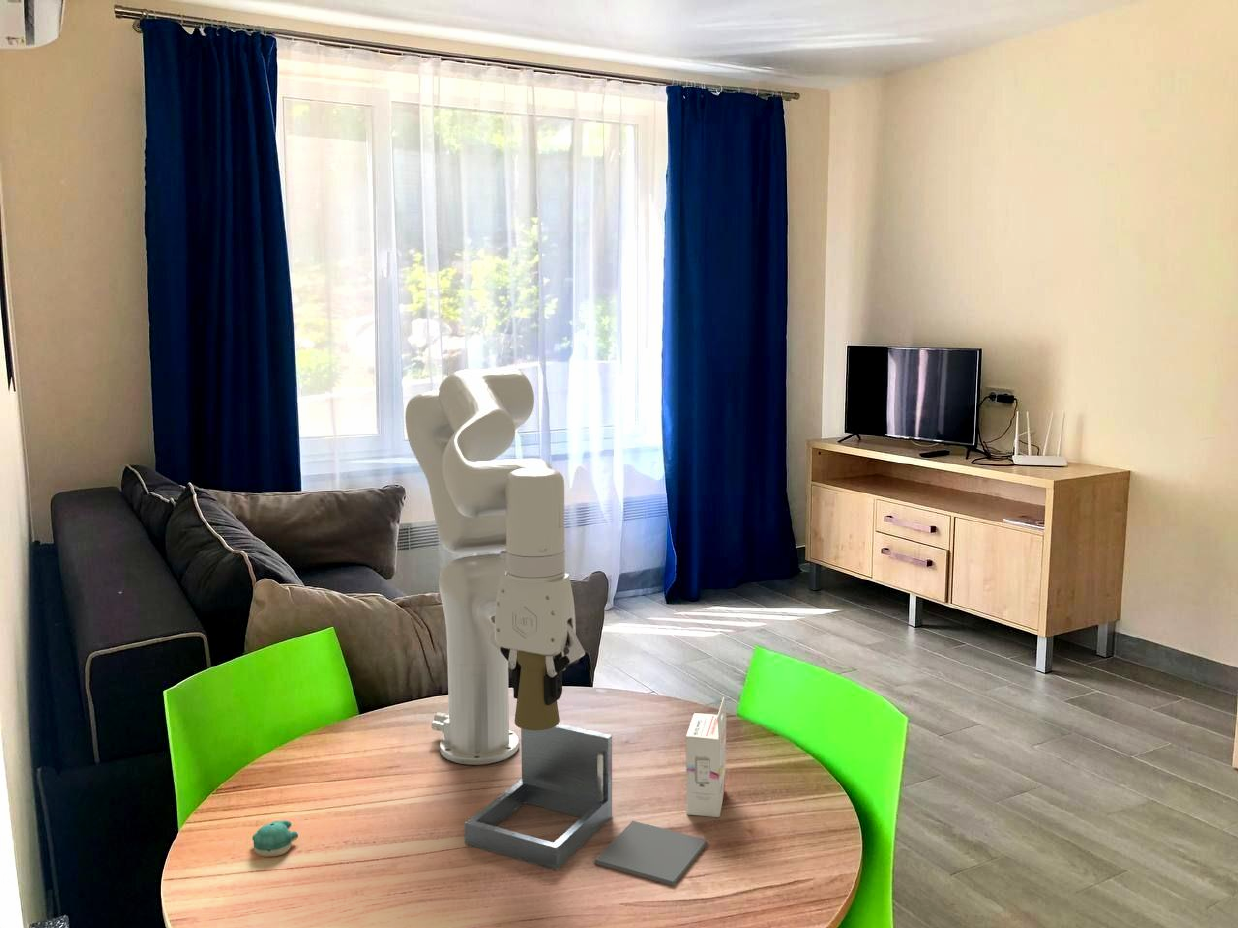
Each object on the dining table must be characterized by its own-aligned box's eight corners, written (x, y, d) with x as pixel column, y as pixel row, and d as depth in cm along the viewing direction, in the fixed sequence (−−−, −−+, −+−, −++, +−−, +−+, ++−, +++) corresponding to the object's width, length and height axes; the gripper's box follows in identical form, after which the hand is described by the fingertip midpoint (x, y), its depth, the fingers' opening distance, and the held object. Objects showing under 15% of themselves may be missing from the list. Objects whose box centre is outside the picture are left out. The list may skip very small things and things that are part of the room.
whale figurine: (245, 861, 129) (243, 834, 128) (260, 832, 136) (259, 805, 135) (292, 859, 129) (290, 832, 129) (304, 830, 136) (303, 804, 136)
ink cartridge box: (692, 786, 148) (693, 691, 146) (725, 789, 147) (727, 694, 145) (684, 815, 140) (685, 714, 138) (719, 818, 139) (721, 717, 137)
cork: (566, 715, 135) (566, 636, 133) (549, 733, 129) (548, 651, 128) (525, 709, 137) (524, 631, 135) (506, 726, 131) (505, 646, 130)
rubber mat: (594, 863, 128) (594, 859, 128) (632, 824, 137) (632, 820, 137) (673, 885, 123) (673, 881, 123) (707, 843, 133) (707, 839, 132)
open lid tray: (465, 843, 132) (463, 757, 131) (526, 794, 146) (525, 716, 144) (556, 870, 126) (555, 780, 124) (612, 816, 140) (612, 734, 138)
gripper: (465, 562, 130) (468, 696, 133) (577, 578, 123) (578, 720, 126) (497, 550, 137) (500, 678, 140) (606, 564, 129) (606, 699, 132)
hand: (537, 696), depth 133 cm, fingers closed on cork, 4 cm apart
